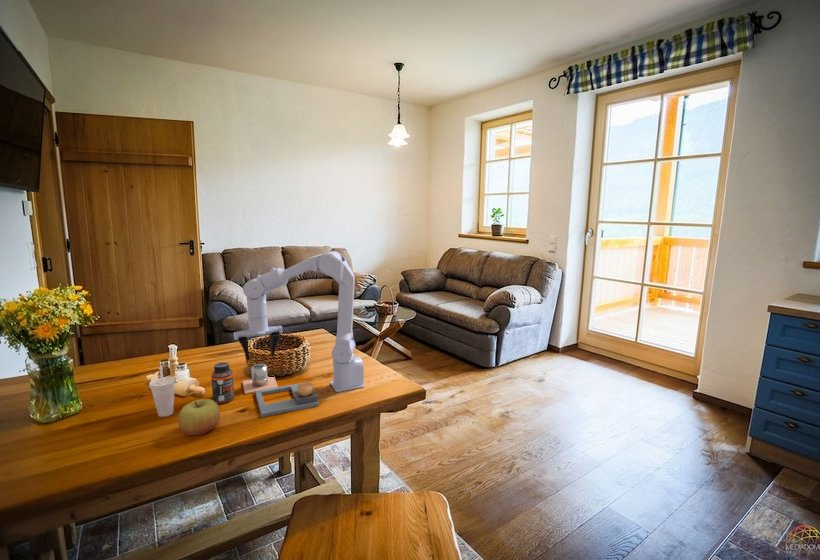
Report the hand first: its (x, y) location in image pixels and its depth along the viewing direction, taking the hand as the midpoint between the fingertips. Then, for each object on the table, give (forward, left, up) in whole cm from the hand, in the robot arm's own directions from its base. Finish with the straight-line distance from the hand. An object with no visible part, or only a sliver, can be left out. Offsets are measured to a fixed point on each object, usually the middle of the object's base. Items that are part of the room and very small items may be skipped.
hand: (260, 357), depth 131 cm
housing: (-5, +14, -10) cm, 18 cm away
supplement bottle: (+12, +6, -10) cm, 16 cm away
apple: (+18, +22, -10) cm, 30 cm away
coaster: (+1, 0, -10) cm, 10 cm away
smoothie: (+27, +8, -10) cm, 29 cm away
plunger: (-10, +18, -8) cm, 22 cm away
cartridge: (+1, 0, -9) cm, 9 cm away
